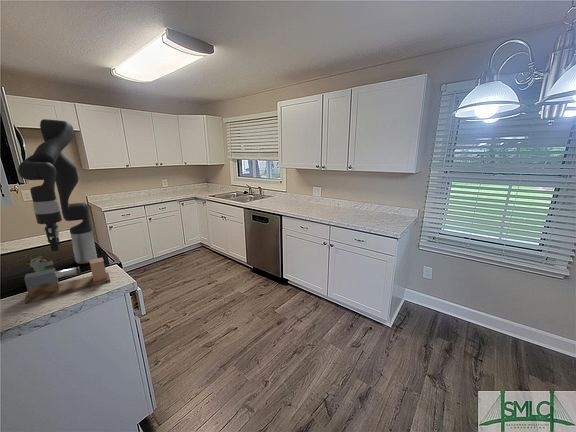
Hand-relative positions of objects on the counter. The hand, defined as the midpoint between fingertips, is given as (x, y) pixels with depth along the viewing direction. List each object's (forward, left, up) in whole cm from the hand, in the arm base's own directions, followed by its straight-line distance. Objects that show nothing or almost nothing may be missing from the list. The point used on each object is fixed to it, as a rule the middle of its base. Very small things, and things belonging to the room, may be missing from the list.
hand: (56, 247), depth 105 cm
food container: (-20, +4, -20) cm, 28 cm away
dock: (+1, +2, -20) cm, 20 cm away
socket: (+7, +10, -19) cm, 22 cm away
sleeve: (-4, -5, -14) cm, 15 cm away
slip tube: (-1, -2, -14) cm, 14 cm away
